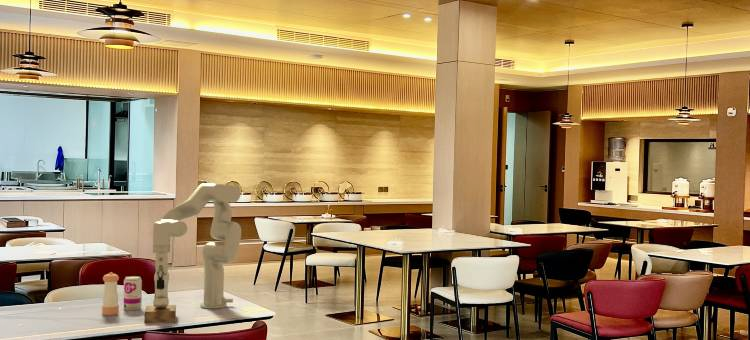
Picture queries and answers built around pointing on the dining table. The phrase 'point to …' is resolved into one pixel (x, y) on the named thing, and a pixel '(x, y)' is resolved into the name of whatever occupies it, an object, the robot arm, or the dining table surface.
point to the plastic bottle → (161, 293)
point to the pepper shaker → (110, 295)
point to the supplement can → (132, 293)
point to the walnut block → (160, 314)
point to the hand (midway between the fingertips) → (160, 287)
